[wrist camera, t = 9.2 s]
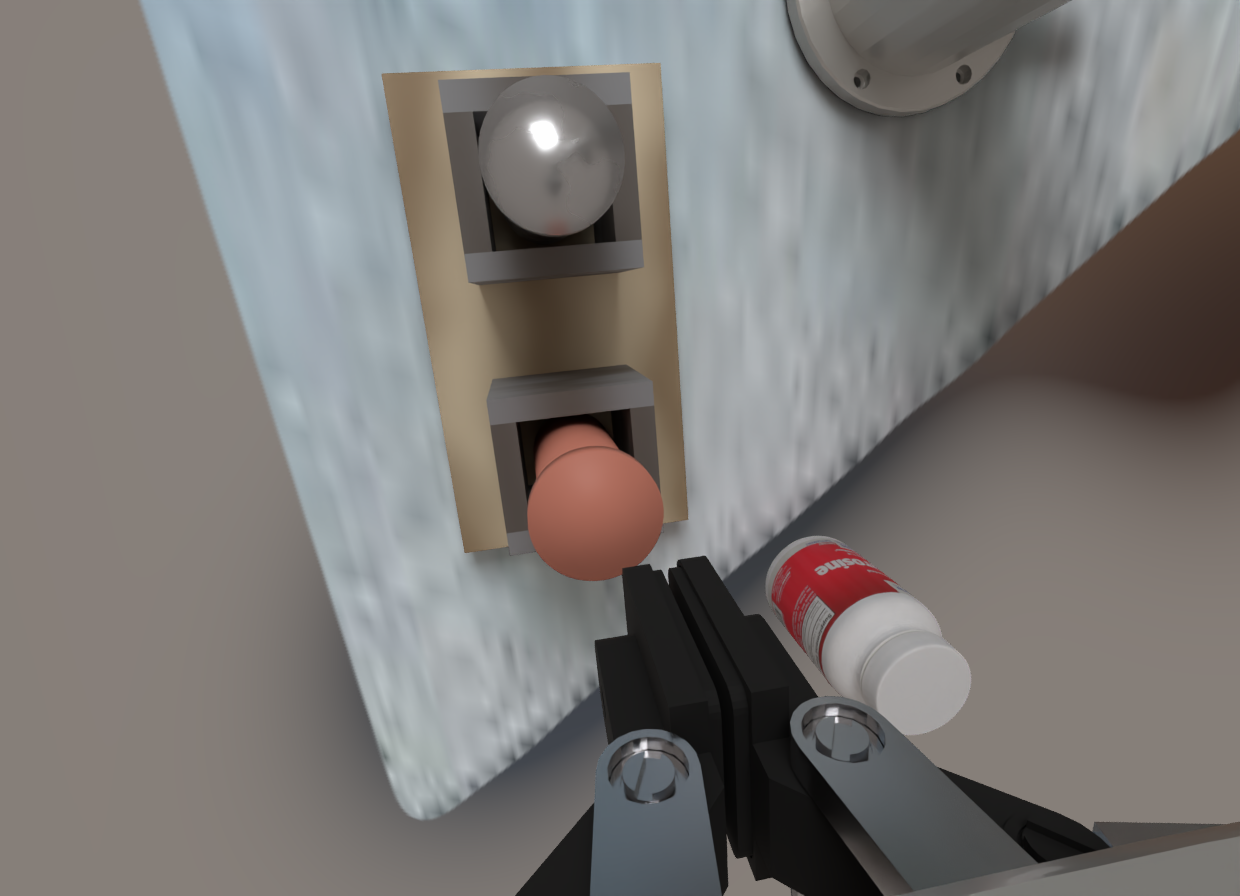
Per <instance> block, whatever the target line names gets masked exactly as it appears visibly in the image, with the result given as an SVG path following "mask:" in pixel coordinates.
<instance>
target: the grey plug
mask: <svg viewBox="0 0 1240 896" xmlns="http://www.w3.org/2000/svg"><path fill="white" fill-rule="evenodd" d="M478 154H479V164H480V169H481V173H482V177H483V180H484V183H485V186H486V188H487V190H488V193H489V195H490V197H491V198H492V200H493V201H494V203H495V205H496V206H497V207H498V208H499V210H500V211H501V212H502V213H503V215H504V217H505V219H506V221H507V223H508V225H509V226H510V227H511V229H512V230H513V231H514V232H515V233H516V234H517V235H519V236H520V237H521V238H523V239H525V240H527V241H529V242H532V243H536V244H552V243H555V242H558V241H560V240H562V239H564V238H565V237H567V236H568V235H572V234H575V233H578V232H580V231H582V230H584V229H586V228H588V227H589V226H591V225H592V224H593V223H595V222H596V221H597V220H598V219H599V218H600V217H601V216H602V215H603V214H604V213H605V212H606V211H607V210H608V209H609V207H610V206H611V204H612V203H613V201H614V200H615V198H616V196H617V194H618V192H619V189H620V186H621V183H622V179H623V174H624V166H625V153H624V145H623V140H622V136H621V133H620V130H619V127H618V125H617V122H616V121H615V119H614V117H613V115H612V113H611V112H610V110H609V109H608V107H607V106H606V105H605V104H604V102H603V101H602V100H601V99H600V98H599V97H598V96H597V95H596V94H595V93H593V92H592V91H591V90H590V89H588V88H587V87H585V86H584V85H582V84H580V83H578V82H576V81H574V80H571V79H568V78H565V77H561V76H555V75H540V76H533V77H529V78H526V79H523V80H521V81H518V82H516V83H515V84H513V85H511V86H510V87H508V88H507V89H506V90H505V91H503V92H502V93H501V94H500V95H499V96H498V97H497V99H496V100H495V101H494V102H493V104H492V105H491V107H490V108H489V110H488V112H487V114H486V116H485V118H484V120H483V124H482V127H481V130H480V136H479V146H478Z"/></svg>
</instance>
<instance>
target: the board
mask: <svg viewBox="0 0 1240 896" xmlns="http://www.w3.org/2000/svg"><path fill="white" fill-rule="evenodd" d="M540 75H555V76H561V77H565V78H568V79H571V80H574V81H576V82H578V83H580V84H582V85H584V86H585V87H587V88H588V89H590V90H591V91H592V92H593V93H595V94H596V95H597V96H598V97H599V98H600V99H601V100H602V101H603V102H604V104H605V105H606V106H607V107H608V109H609V110H610V112H611V113H612V115H613V117H614V119H615V121H616V122H617V125H618V127H619V130H620V133H621V136H622V140H623V145H624V153H625V166H624V174H623V179H622V183H621V186H620V189H619V192H618V194H617V196H616V198H615V200H614V201H613V203H612V204H611V206H610V207H609V209H608V210H607V211H606V212H605V213H604V214H603V215H602V216H601V217H600V218H599V219H598V220H597V221H596V222H595V223H593V224H592V225H591V226H589V227H588V228H586V229H584V230H582V231H580V232H578V233H575V234H572V235H568V236H567V237H565V238H564V239H562V240H560V241H558V242H555V243H552V244H536V243H532V242H529V241H527V240H525V239H523V238H521V237H520V236H519V235H517V234H516V233H515V232H514V231H513V230H512V229H511V227H510V226H509V225H508V223H507V221H506V219H505V217H504V215H503V213H502V212H501V211H500V210H499V208H498V207H497V206H496V205H495V203H494V201H493V200H492V198H491V197H490V195H489V193H488V190H487V188H486V186H485V183H484V180H483V177H482V173H481V169H480V164H479V154H478V146H479V136H480V130H481V127H482V124H483V120H484V118H485V116H486V114H487V112H488V110H489V108H490V107H491V105H492V104H493V102H494V101H495V100H496V99H497V97H498V96H499V95H500V94H501V93H502V92H503V91H505V90H506V89H507V88H508V87H510V86H511V85H513V84H515V83H516V82H518V81H521V80H523V79H526V78H529V77H533V76H540ZM382 80H383V85H384V91H385V97H386V103H387V109H388V114H389V120H390V126H391V132H392V137H393V143H394V149H395V155H396V160H397V166H398V172H399V178H400V183H401V189H402V195H403V201H404V206H405V212H406V218H407V224H408V229H409V235H410V241H411V247H412V252H413V258H414V264H415V270H416V275H417V281H418V287H419V293H420V299H421V304H422V310H423V316H424V322H425V327H426V333H427V339H428V345H429V350H430V356H431V362H432V368H433V373H434V379H435V385H436V391H437V396H438V402H439V408H440V414H441V419H442V425H443V431H444V437H445V442H446V448H447V454H448V460H449V466H450V471H451V477H452V483H453V489H454V494H455V500H456V506H457V512H458V517H459V523H460V529H461V535H462V540H463V546H464V552H465V553H469V552H476V551H482V550H489V549H496V548H502V547H509V554H510V556H511V555H517V554H524V553H531V552H537V551H536V549H535V548H534V546H533V544H532V541H531V538H530V535H529V530H528V518H527V507H528V499H529V495H530V492H531V489H532V486H533V484H534V483H535V481H536V472H535V462H534V450H533V449H534V441H535V438H536V435H537V433H538V431H539V429H540V428H541V427H542V425H543V424H544V423H545V422H546V421H548V420H549V419H550V418H555V417H563V416H571V415H580V414H589V415H591V416H593V417H594V418H596V419H597V420H598V421H599V422H600V423H601V424H602V425H603V426H604V427H605V429H606V431H607V432H608V434H609V435H610V437H611V438H612V440H613V441H614V443H615V444H616V446H617V447H618V449H619V450H621V451H623V452H625V453H627V454H629V455H631V456H632V457H633V458H635V459H636V460H637V461H639V462H640V463H641V464H642V465H643V466H644V468H645V469H646V470H647V471H648V473H649V474H650V475H651V477H652V478H653V480H654V481H655V483H656V484H657V486H658V489H659V491H660V494H661V497H662V501H663V508H664V518H663V523H669V522H676V521H683V520H688V507H687V490H686V474H685V458H684V441H683V425H682V409H681V392H680V376H679V360H678V343H677V327H676V311H675V294H674V278H673V262H672V245H671V229H670V213H669V196H668V180H667V164H666V147H665V131H664V115H663V98H662V82H661V66H660V63H646V64H620V65H594V66H568V67H542V68H515V69H489V70H463V71H437V72H411V73H385V74H382ZM662 532H664V531H663V525H662V529H661V533H662Z"/></svg>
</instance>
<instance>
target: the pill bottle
mask: <svg viewBox="0 0 1240 896" xmlns="http://www.w3.org/2000/svg"><path fill="white" fill-rule="evenodd" d="M765 592H766V598H767V601H768V604H769V605H770V608H771V609H772V611H773V612H774V614H775V615H776V617H777V618H778V619H779V620H780V622H781V623H782V624H783V625H784V627H785V628H786V629H787V630H788V632H789V633H790V634H791V635H792V637H793V638H794V639H795V641H796V642H797V643H798V644H799V645H800V647H801V648H802V649H803V650H804V652H805V653H806V654H807V656H808V657H809V658H810V659H811V661H812V662H813V663H814V664H815V665H816V667H817V668H818V669H819V671H820V672H821V673H822V674H823V676H824V677H825V678H826V679H827V681H828V683H829V684H830V685H831V686H832V687H833V688H834V689H835V690H836V691H837V692H838V693H839V694H840V695H841V696H842V697H844V698H848V699H852V700H856V701H859V702H861V703H863V704H865V705H867V706H870V707H872V708H873V709H874V710H876V711H877V712H878V713H880V714H881V715H882V716H884V717H885V718H886V719H887V720H888V721H889V722H890V723H891V724H892V725H893V726H894V727H895V728H897V729H898V730H899V731H900V732H901V733H902V734H903V735H920V734H924V733H928V732H930V731H933V730H935V729H937V728H939V727H941V726H943V725H944V724H946V723H947V722H948V721H950V720H951V719H952V718H953V717H954V716H955V715H956V714H957V713H958V711H959V710H960V709H961V708H962V706H963V705H964V703H965V702H966V700H967V697H968V695H969V691H970V687H971V672H970V668H969V665H968V663H967V661H966V660H965V658H964V657H963V656H962V655H961V654H960V653H959V652H958V651H957V650H956V649H955V648H954V647H952V646H951V645H950V644H949V643H948V642H947V641H946V640H945V639H943V638H942V633H941V629H940V626H939V624H938V622H937V620H936V618H935V617H934V615H933V614H932V613H931V612H930V610H929V609H928V608H927V607H926V606H925V605H923V604H922V603H921V602H920V601H919V600H918V599H916V598H915V597H914V596H912V595H911V594H910V593H908V592H907V591H906V590H905V589H903V588H902V587H901V586H899V585H898V584H897V583H896V582H894V581H893V580H892V579H890V578H889V577H888V576H886V575H885V574H884V573H883V572H881V571H880V570H879V569H877V568H876V567H875V566H873V565H872V564H871V563H869V562H868V561H867V560H865V559H864V558H863V557H862V556H860V555H859V554H858V553H856V552H855V551H854V550H852V549H851V548H850V547H849V546H847V545H846V544H844V543H842V542H841V541H839V540H836V539H834V538H831V537H826V536H810V537H805V538H802V539H799V540H797V541H794V542H793V543H791V544H789V545H788V546H787V547H786V548H784V549H783V550H782V551H781V552H780V553H779V554H778V555H777V557H776V558H775V559H774V561H773V562H772V564H771V566H770V568H769V570H768V573H767V577H766V582H765Z"/></svg>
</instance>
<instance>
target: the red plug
mask: <svg viewBox="0 0 1240 896" xmlns="http://www.w3.org/2000/svg"><path fill="white" fill-rule="evenodd" d="M533 450H534V462H535V472H536V481H535V483H534V484H533V486H532V489H531V492H530V495H529V499H528V507H527V518H528V530H529V535H530V538H531V541H532V544H533V546H534V548H535V549H536V551H537V553H538V554H539V556H540V557H541V558H542V559H543V560H544V561H545V562H546V563H547V564H548V565H549V566H550V567H551V568H553V569H554V570H556V571H557V572H559V573H561V574H563V575H565V576H568V577H570V578H574V579H578V580H585V581H599V580H606V579H610V578H614V577H617V576H620V575H622V568H626V567H633V566H637V565H638V564H639V563H641V562H642V561H643V560H644V559H645V558H646V557H647V556H648V554H649V553H650V552H651V550H652V549H653V547H654V546H655V544H656V542H657V540H658V538H659V535H660V533H661V529H662V525H663V518H664V508H663V501H662V497H661V494H660V491H659V489H658V486H657V484H656V483H655V481H654V480H653V478H652V477H651V475H650V474H649V473H648V471H647V470H646V469H645V468H644V466H643V465H642V464H641V463H640V462H639V461H637V460H636V459H635V458H633V457H632V456H631V455H629V454H627V453H625V452H623V451H621V450H619V449H618V447H617V446H616V444H615V443H614V441H613V440H612V438H611V437H610V435H609V434H608V432H607V431H606V429H605V427H604V426H603V425H602V424H601V423H600V422H599V421H598V420H597V419H596V418H594V417H593V416H591V415H589V414H580V415H571V416H563V417H555V418H550V419H549V420H548V421H546V422H545V423H544V424H543V425H542V427H541V428H540V429H539V431H538V433H537V435H536V438H535V441H534V449H533Z"/></svg>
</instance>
